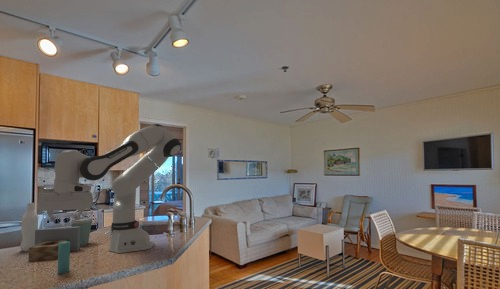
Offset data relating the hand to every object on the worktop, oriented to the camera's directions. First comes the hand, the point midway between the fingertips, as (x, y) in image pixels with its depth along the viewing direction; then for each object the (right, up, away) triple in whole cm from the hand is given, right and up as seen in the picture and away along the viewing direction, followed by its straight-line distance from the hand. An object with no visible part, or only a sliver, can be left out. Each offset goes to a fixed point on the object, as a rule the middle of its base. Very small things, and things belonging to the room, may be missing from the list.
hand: (65, 220), depth 113 cm
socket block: (-21, -23, +19) cm, 37 cm away
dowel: (0, -21, -2) cm, 21 cm away
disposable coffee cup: (-18, -25, +39) cm, 50 cm away
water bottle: (-41, -25, +30) cm, 57 cm away
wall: (-23, -24, +27) cm, 43 cm away
